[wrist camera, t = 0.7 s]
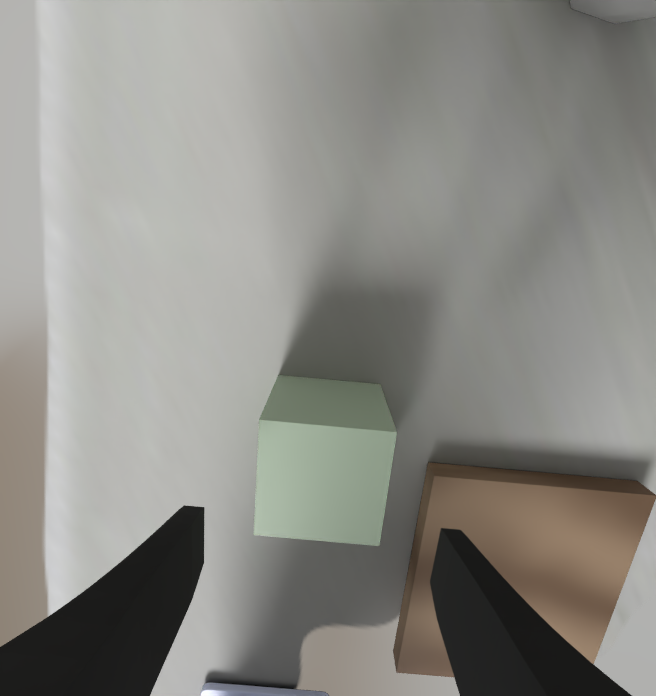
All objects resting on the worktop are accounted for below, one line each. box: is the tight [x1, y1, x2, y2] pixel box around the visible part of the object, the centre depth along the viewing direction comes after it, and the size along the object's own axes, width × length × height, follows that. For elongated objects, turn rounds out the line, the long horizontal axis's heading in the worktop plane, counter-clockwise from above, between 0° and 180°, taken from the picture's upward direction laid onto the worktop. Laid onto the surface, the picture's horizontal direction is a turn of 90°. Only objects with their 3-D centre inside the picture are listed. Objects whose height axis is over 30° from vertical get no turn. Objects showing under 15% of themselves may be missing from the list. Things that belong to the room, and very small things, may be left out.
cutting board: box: [393, 462, 656, 677], centre depth 20 cm, size 13×11×1 cm
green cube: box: [254, 375, 397, 546], centre depth 17 cm, size 5×5×5 cm
